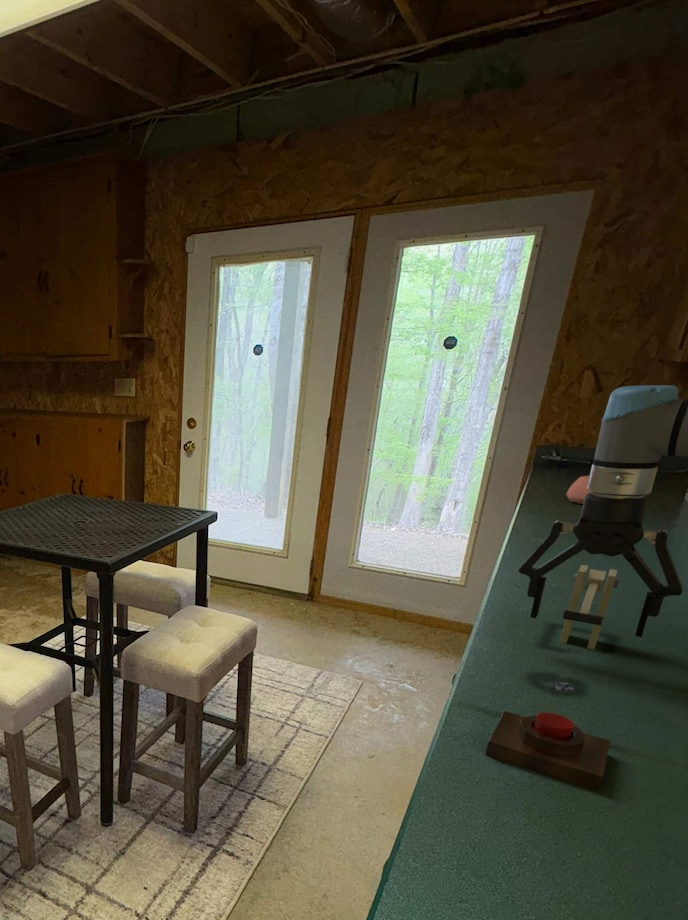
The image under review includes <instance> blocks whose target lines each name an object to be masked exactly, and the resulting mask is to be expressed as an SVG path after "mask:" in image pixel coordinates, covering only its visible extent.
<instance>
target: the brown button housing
mask: <svg viewBox="0 0 688 920" xmlns="http://www.w3.org/2000/svg"><path fill="white" fill-rule="evenodd" d="M536 716H537V714H535V715H534V714H532V715H528V716H525V715H524V716H523V715H520V714H516V713H514V712H510V711H505V710H504V711H503V712H502V714H501V717H500V719H499V721H498V723H497V724H496V726H495V728H494V729H493V732H492V734H491V735H490V738H489V740H488V741H487V746H486V750H485V754H484V755H485V756H487V757H490V758H493V759H496V760H499V761H502V762H505V763H509V764H511V765H515V766H517V767H520V768H524V769H526V770H531V771H532V772H536V773H538V774H539V773H540V774H543V775H545V776H549V777H551V778H555V779H557V780H561V781H564V782H567V783H570V784H573V785H577V786H579V787H582V788H586V789H588V790H592V791H595V792H599V790H600V787H601V784H602V781H603V778H604V773H605V769H606V764H607V760H608V754H609V750H610V744H611V740H609V739H606V738H603V737H599V736H595V735H592V734H588V733H586V732H585V733H584V732H583V731H582V729H580V727H578V726H576V725H574V727H573V731H572V734H571V737H570V738H569V739H566V740H565V739H555V738H551V737H548V736H544V735H542V734H541V733H539V732H537V731H535V730H534V723H535V719H536Z"/></svg>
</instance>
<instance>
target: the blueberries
mask: <svg viewBox="0 0 688 920" xmlns="http://www.w3.org/2000/svg"><path fill="white" fill-rule="evenodd" d="M553 684H554V685H551V684H548V685H546V687H547V688H548V689H550V690H558V691H563V692H564V691H565V692H569V691H571V692H572V691H573V692H574V691H575V690H576V688H575V686H573V685H570V683H568V682H566V681H562V682H558V681H553Z"/></svg>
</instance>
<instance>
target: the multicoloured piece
mask: <svg viewBox="0 0 688 920" xmlns="http://www.w3.org/2000/svg"><path fill="white" fill-rule="evenodd" d="M606 576H607V571H606V570H600V569H592V568H591V569H589V571H588V575H587V576H586V580H585V581H586V582H585V585H584V590H586V594H585V596H584V599H583V602H582V605H581V608H580V611H576V612H573V611H568V609H565V610H564V611H563V614H562V619H563V620H565V619H568V620H573V622H574V621H575V622H578V623H579V622H580V623H584V624H589V625H593V626H594V625H600V626H601V624H602V625H603V623H602V620H603V617H601V616H597V615H595V614H590V611H591V608H592V605H593V602H594V599H595V597H596V593H597V592H602V588H603V586H604V582H605V579H606ZM603 621H604V620H603ZM601 627H602V626H601Z"/></svg>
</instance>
